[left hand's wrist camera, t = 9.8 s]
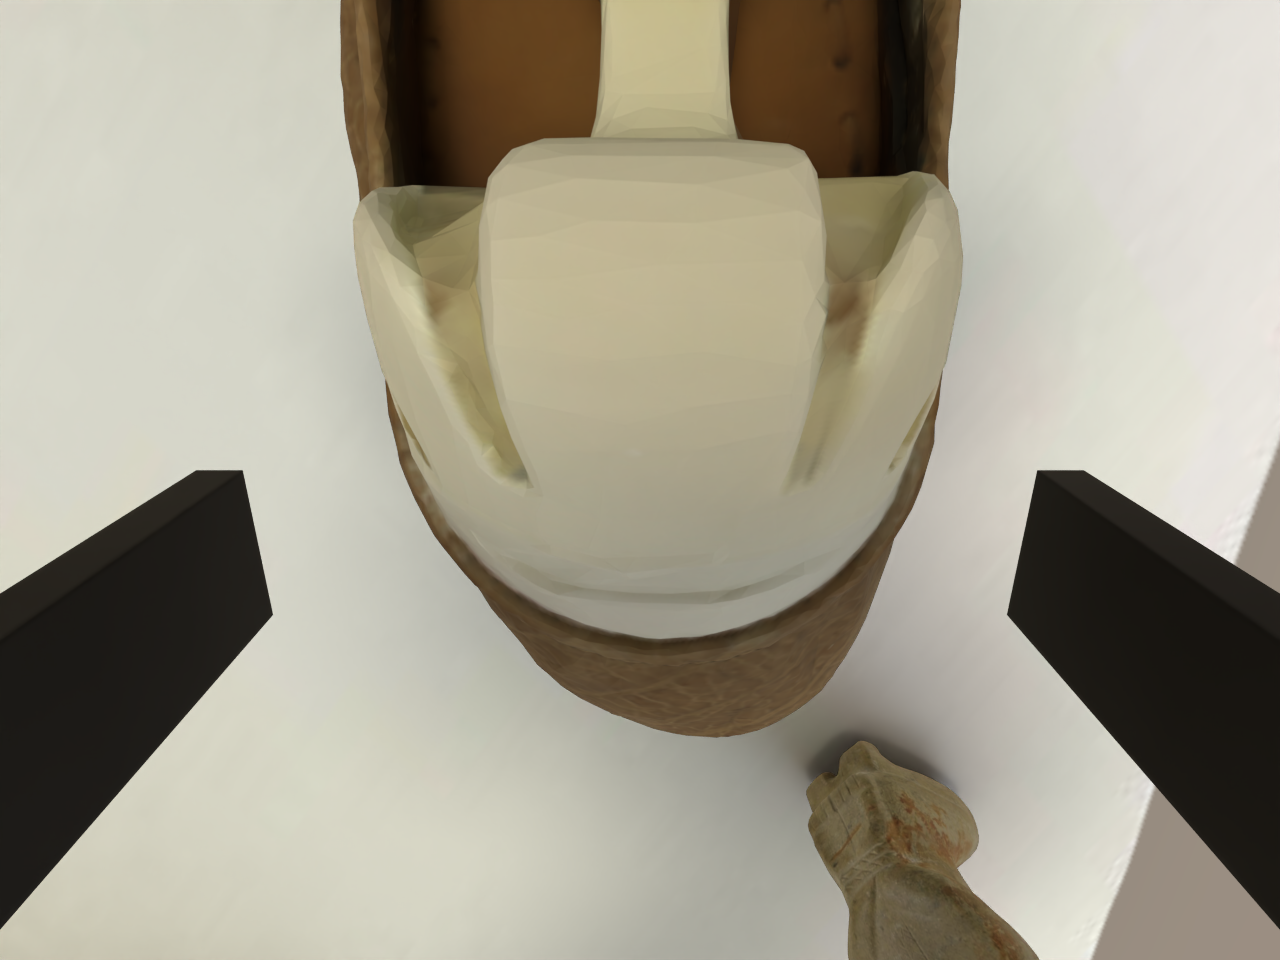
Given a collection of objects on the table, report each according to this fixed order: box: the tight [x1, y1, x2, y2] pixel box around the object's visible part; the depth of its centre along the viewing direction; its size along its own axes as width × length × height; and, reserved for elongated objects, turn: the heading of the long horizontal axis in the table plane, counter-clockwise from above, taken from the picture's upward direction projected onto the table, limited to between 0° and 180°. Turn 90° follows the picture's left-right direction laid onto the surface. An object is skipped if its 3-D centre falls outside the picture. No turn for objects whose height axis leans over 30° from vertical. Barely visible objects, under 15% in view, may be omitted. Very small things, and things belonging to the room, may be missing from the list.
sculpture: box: [806, 741, 1039, 960], centre depth 25 cm, size 6×7×15 cm
